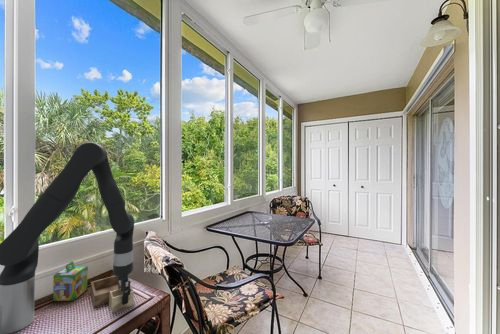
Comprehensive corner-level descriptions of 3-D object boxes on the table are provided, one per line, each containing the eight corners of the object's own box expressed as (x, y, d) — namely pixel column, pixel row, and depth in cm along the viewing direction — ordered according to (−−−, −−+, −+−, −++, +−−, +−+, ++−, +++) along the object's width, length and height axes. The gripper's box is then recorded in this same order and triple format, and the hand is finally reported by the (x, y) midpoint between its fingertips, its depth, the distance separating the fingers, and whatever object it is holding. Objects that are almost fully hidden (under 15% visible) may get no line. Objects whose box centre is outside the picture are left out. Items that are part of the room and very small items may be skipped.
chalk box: (74, 301, 95) (75, 267, 95) (51, 301, 94) (52, 267, 94) (88, 289, 104) (89, 258, 104) (67, 289, 104) (68, 258, 104)
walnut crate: (94, 307, 91) (94, 296, 91) (90, 292, 102) (90, 281, 102) (126, 297, 99) (126, 286, 99) (119, 283, 110) (120, 274, 110)
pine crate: (111, 313, 89) (112, 298, 89) (109, 305, 93) (109, 291, 93) (133, 305, 94) (133, 291, 94) (130, 298, 98) (130, 285, 98)
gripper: (110, 258, 96) (109, 295, 96) (116, 270, 85) (116, 312, 86) (129, 253, 101) (128, 289, 101) (137, 264, 90) (137, 304, 91)
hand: (123, 299), depth 94 cm, fingers open, 7 cm apart
